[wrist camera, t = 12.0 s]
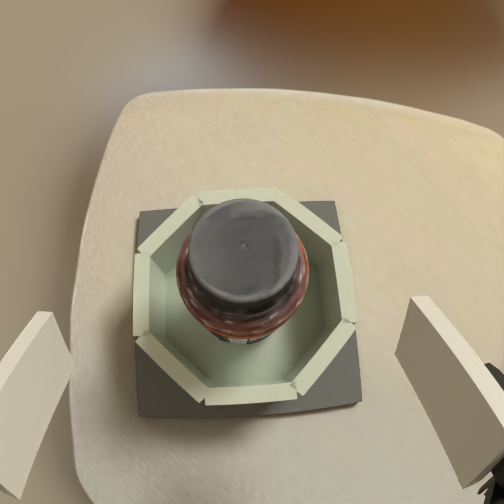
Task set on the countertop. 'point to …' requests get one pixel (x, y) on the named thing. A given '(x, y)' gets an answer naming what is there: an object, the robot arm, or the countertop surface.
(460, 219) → the countertop surface
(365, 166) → the countertop surface
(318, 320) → the bowl
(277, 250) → the supplement bottle
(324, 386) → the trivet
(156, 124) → the countertop surface
